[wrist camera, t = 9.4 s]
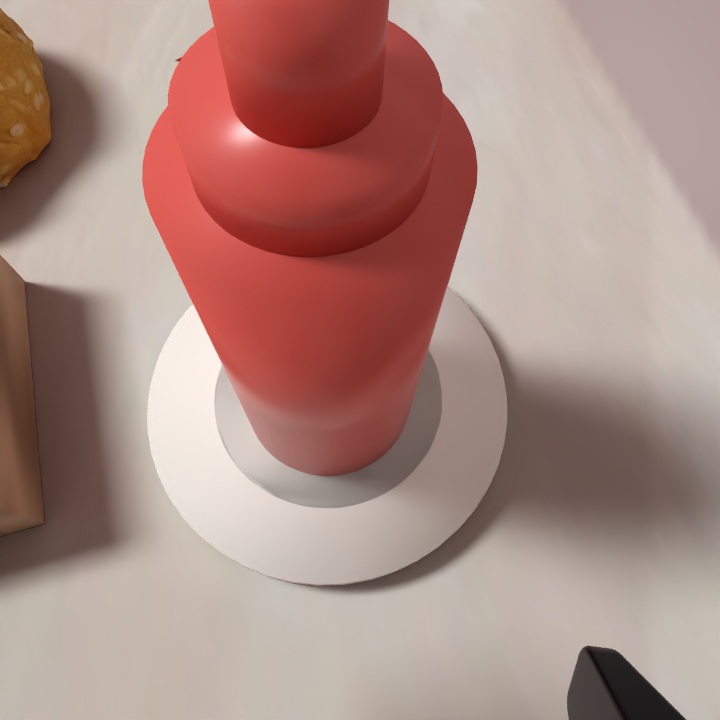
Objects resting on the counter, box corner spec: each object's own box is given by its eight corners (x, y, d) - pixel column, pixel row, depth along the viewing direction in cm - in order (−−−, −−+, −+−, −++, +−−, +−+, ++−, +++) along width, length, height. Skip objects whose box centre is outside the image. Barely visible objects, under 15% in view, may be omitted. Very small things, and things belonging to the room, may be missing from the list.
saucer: (556, 354, 19) (564, 343, 19) (389, 669, 15) (391, 671, 15) (286, 211, 22) (284, 196, 21) (80, 454, 18) (68, 447, 17)
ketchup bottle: (442, 416, 18) (683, -97, 5) (302, 510, 16) (160, 136, 4) (351, 297, 19) (361, -312, 7) (217, 374, 18) (-77, -198, 5)
